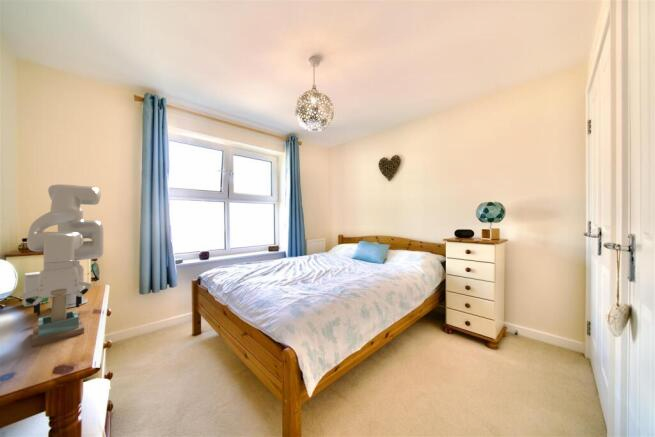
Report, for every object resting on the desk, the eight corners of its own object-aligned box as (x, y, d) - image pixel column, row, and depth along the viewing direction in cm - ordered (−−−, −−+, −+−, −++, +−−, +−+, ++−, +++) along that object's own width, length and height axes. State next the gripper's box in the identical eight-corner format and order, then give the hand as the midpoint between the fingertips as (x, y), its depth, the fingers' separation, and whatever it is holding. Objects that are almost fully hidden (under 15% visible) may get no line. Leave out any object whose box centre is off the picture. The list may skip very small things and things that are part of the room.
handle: (46, 333, 82) (47, 292, 82) (50, 326, 87) (51, 287, 87) (66, 329, 86) (67, 289, 86) (69, 322, 90) (70, 285, 90)
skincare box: (24, 307, 110) (24, 275, 110) (22, 304, 113) (22, 273, 113) (51, 302, 117) (51, 271, 117) (48, 299, 120) (49, 270, 120)
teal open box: (32, 333, 86) (33, 317, 86) (79, 322, 95) (79, 308, 95) (32, 346, 77) (32, 329, 77) (83, 333, 87) (84, 317, 87)
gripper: (90, 261, 95) (90, 301, 95) (21, 268, 82) (21, 315, 82) (93, 263, 91) (92, 306, 91) (20, 271, 77) (20, 321, 77)
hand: (58, 310), depth 86 cm, fingers open, 9 cm apart
